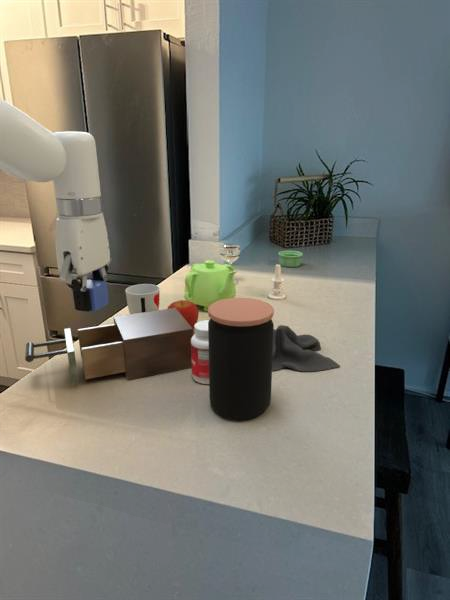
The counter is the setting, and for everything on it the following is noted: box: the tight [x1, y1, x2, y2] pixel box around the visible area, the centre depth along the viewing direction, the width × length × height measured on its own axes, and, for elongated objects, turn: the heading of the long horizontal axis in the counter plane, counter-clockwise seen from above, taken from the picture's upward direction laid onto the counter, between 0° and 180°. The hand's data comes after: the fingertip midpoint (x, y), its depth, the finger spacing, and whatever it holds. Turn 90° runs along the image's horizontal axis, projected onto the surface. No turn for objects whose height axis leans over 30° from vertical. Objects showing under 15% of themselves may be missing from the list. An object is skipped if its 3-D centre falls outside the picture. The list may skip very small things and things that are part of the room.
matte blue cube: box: [72, 279, 110, 312], centre depth 80 cm, size 4×4×4 cm
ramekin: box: [278, 250, 304, 268], centre depth 161 cm, size 9×9×4 cm
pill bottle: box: [191, 319, 210, 385], centre depth 82 cm, size 6×6×11 cm
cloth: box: [272, 324, 341, 373], centre depth 92 cm, size 22×19×6 cm
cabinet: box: [113, 308, 194, 381], centre depth 89 cm, size 14×13×9 cm
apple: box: [167, 299, 200, 331], centre depth 104 cm, size 8×8×8 cm
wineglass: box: [219, 243, 242, 285], centre depth 140 cm, size 7×7×12 cm
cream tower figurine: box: [267, 263, 287, 301], centre depth 126 cm, size 5×5×10 cm
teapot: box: [183, 259, 238, 312], centre depth 120 cm, size 16×14×13 cm
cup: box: [125, 283, 161, 314], centre depth 106 cm, size 8×8×10 cm
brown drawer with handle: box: [24, 323, 126, 386], centre depth 84 cm, size 20×11×7 cm, turn 112°
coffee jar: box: [207, 297, 275, 421], centre depth 72 cm, size 11×11×18 cm
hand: (91, 304), depth 81 cm, fingers closed on matte blue cube, 4 cm apart
